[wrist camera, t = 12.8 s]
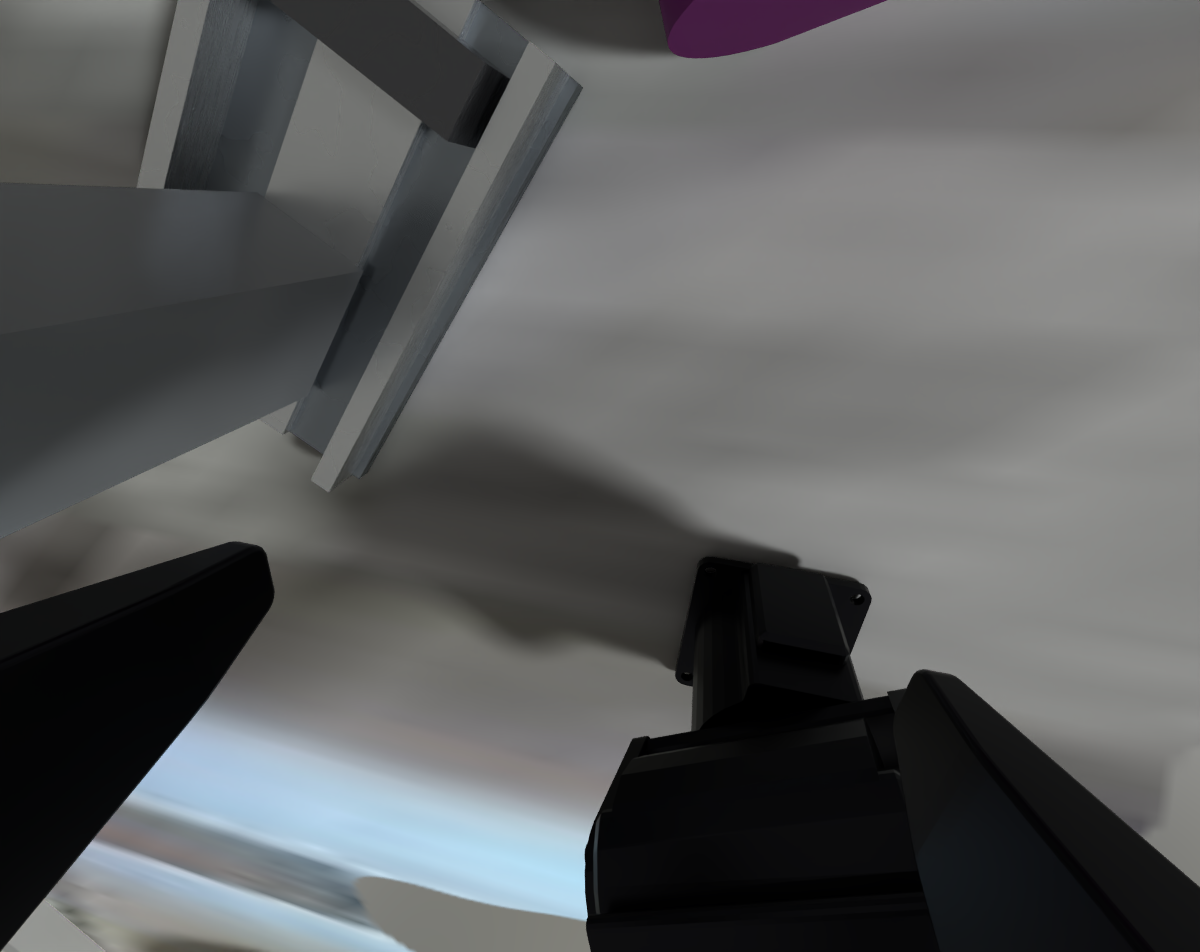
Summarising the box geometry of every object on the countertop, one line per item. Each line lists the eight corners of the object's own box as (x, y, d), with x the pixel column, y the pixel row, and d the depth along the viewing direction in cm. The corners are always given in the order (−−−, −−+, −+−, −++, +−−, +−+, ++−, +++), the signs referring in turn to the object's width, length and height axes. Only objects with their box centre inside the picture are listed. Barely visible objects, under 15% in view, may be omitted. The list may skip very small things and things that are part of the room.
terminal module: (363, 270, 18) (-223, 373, 7) (307, 396, 21) (-194, 628, 9) (230, 172, 18) (-664, 101, 6) (188, 313, 20) (-509, 451, 9)
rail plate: (279, -167, 15) (180, -253, 12) (582, 87, 16) (556, 62, 13) (150, 323, 22) (69, 339, 19) (367, 472, 23) (320, 508, 20)
